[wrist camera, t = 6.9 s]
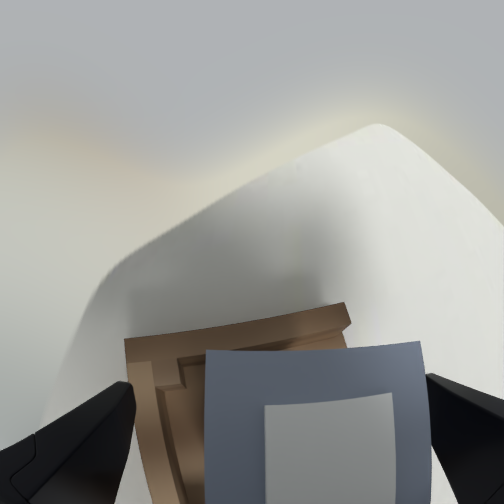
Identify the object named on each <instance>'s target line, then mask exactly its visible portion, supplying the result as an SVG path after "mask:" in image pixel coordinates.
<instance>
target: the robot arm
mask: <svg viewBox="0 0 504 504" xmlns="http://www.w3.org/2000/svg"><path fill="white" fill-rule="evenodd" d="M425 376H426V384H427V393H428V403H429V414H430V429H431V445H432V447H433V449H434V451H435V453H436V455H437V457H438V460H439V462H440V464H441V466H442V468H443V470H444V472H445V475H446V477H447V479H448V481H449V483H450V486H451V488H452V490H453V493H454V495H455V497H456V500H457V502H458V504H504V400H503V399H500V398H497V397H494V396H491V395H489V394H486V393H483V392H480V391H478V390H475V389H472V388H470V387H467V386H464V385H462V384H459V383H456V382H454V381H451V380H449V379H446V378H443V377H441V376H438V375H436V374H433V373H429V374H425ZM136 409H137V405H136V400H135V395H134V389H133V386H132V384H131V383H129V382H122V381H118V382H116V383H114V384H113V385H111V386H110V387H108V388H106V389H105V390H103V391H102V392H100V393H99V394H97V395H95V396H94V397H92V398H91V399H89V400H87V401H86V402H84V403H83V404H81V405H79V406H78V407H76V408H75V409H73V410H71V411H70V412H68V413H67V414H65V415H63V416H62V417H60V418H58V419H57V420H55V421H53V422H52V423H50V424H48V425H47V426H45V427H43V428H42V429H40V430H38V431H37V432H35V434H31V435H30V436H28V437H27V438H25V439H23V440H21V441H19V442H17V443H16V444H14V445H12V446H10V447H8V448H6V449H3V450H1V451H0V504H114V503H115V499H116V496H117V492H118V488H119V485H120V481H121V478H122V475H123V471H124V468H125V465H126V461H127V458H128V454H129V449H130V444H131V438H132V432H133V427H134V421H135V416H136Z"/></svg>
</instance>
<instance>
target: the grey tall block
mask: <svg viewBox="0 0 504 504" xmlns="http://www.w3.org/2000/svg"><path fill="white" fill-rule="evenodd" d="M431 474H432V457H431V429H430V414H429V403H428V393H427V384H426V376H425V369H424V362H423V356H422V349H421V344H420V341H415V342H407V343H399V344H390V345H380V346H369V347H357V348H343V349H325V350H300V351H229V350H206V365H205V407H204V479H205V504H430V501H431Z"/></svg>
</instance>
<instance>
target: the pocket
mask: <svg viewBox="0 0 504 504" xmlns="http://www.w3.org/2000/svg"><path fill="white" fill-rule="evenodd" d="M350 324H351V320H350V317H349V314H348V312H347V309H346V306H345V303H344V302H342V303H338V304H333V305H329V306H324V307H320V308H315V309H311V310H306V311H301V312H296V313H291V314H286V315H281V316H276V317H271V318H265V319H260V320H254V321H249V322H243V323H237V324H231V325H225V326H219V327H212V328H206V329H199V330H192V331H185V332H178V333H170V334H162V335H154V336H145V337H136V338H127V339H124V343H125V354H126V365H127V374H128V382H129V383H131V384H132V386H133V389H134V395H135V400H136V405H137V409H136V416H135V421H134V423H135V429H136V434H137V439H138V444H139V449H140V454H141V459H142V463H143V467H144V472H145V476H146V480H147V484H148V487H149V491H150V495H151V498H152V502H153V504H205V479H204V407H205V365H206V350H229V351H300V350H325V349H343V348H347V346H346V343H345V340H344V337H343V334H342V331H343V330H344V329H345V328H347V327H348V326H349V325H350Z"/></svg>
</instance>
